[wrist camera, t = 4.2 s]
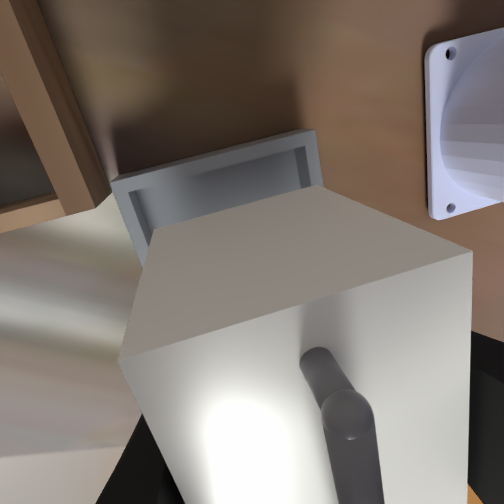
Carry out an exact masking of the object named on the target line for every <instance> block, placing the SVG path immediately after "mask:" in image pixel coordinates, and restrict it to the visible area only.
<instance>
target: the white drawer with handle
mask: <svg viewBox="0 0 504 504" xmlns="http://www.w3.org/2000/svg"><path fill="white" fill-rule="evenodd" d="M472 265H473V251H471V250H469V249H467V248H464V247H462V246H460V245H457V244H455V243H453V242H450V241H448V240H445V239H443V238H441V237H438V236H436V235H434V234H431V233H429V232H427V231H424V230H422V229H420V228H417V227H415V226H413V225H410V224H408V223H405V222H403V221H401V220H398V219H396V218H394V217H391V216H389V215H387V214H384V213H382V212H380V211H377V210H375V209H373V208H370V207H368V206H365V205H363V204H361V203H358V202H356V201H354V200H351V199H349V198H347V197H344V196H342V195H340V194H337V193H335V192H333V191H330V190H328V189H325V188H323V187H321V186H318V185H313V186H310V187H306V188H303V189H299V190H295V191H292V192H288V193H284V194H281V195H277V196H273V197H270V198H266V199H262V200H259V201H255V202H251V203H248V204H244V205H241V206H237V207H233V208H230V209H226V210H222V211H219V212H215V213H211V214H208V215H204V216H200V217H197V218H193V219H190V220H186V221H182V222H179V223H175V224H171V225H168V226H164V227H160V228H157V229H154V231H153V234H152V238H151V241H150V245H149V249H148V252H147V256H146V260H145V263H144V267H143V270H142V274H141V278H140V281H139V285H138V288H137V292H136V296H135V299H134V303H133V306H132V310H131V314H130V317H129V321H128V324H127V328H126V332H125V335H124V339H123V342H122V346H121V350H120V353H119V357H118V363H119V365H120V367H121V369H122V372H123V374H124V376H125V378H126V380H127V382H128V384H129V386H130V388H131V390H132V393H133V395H134V397H135V399H136V401H137V403H138V405H139V407H140V409H141V412H142V414H143V416H144V418H145V420H146V422H147V424H148V426H149V428H150V430H151V433H152V435H153V437H154V439H155V441H156V443H157V445H158V447H159V449H160V451H161V454H162V456H163V458H164V460H165V462H166V464H167V466H168V468H169V470H170V472H171V475H172V477H173V479H174V481H175V483H176V485H177V487H178V489H179V491H180V493H181V496H182V498H183V500H184V502H185V504H467V478H468V436H469V393H470V350H471V308H472Z"/></svg>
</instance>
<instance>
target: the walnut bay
mask: <svg viewBox="0 0 504 504" xmlns="http://www.w3.org/2000/svg"><path fill="white" fill-rule="evenodd" d="M0 72H1V74H2V76H3V79H4V81H5V83H6V85H7V87H8V90H9V92H10V94H11V96H12V98H13V101H14V103H15V105H16V107H17V109H18V111H19V114H20V116H21V118H22V120H23V122H24V125H25V127H26V129H27V131H28V133H29V135H30V138H31V140H32V142H33V144H34V146H35V149H36V151H37V153H38V155H39V157H40V159H41V162H42V164H43V166H44V168H45V170H46V173H47V175H48V177H49V179H50V181H51V183H52V186H53V188H54V190H55V192H52V193H48V194H44V195H40V196H36V197H33V198H29V199H25V200H21V201H17V202H13V203H9V204H5V205H1V206H0V233H4V232H7V231H11V230H15V229H19V228H23V227H26V226H30V225H34V224H38V223H41V222H45V221H49V220H53V219H57V218H60V217H64V216H68V215H72V214H75V213H79V212H83V211H87V210H91V209H94V208H96V207H97V206H98V205H99V204H101V203H102V202H103V201H104V200H105V199H106V198H107V197H108V196H109V195H110V194H111V193H112V191H111V188H110V186H109V183H108V181H107V178H106V176H105V173H104V170H103V168H102V165H101V163H100V160H99V158H98V155H97V153H96V150H95V147H94V145H93V142H92V140H91V137H90V135H89V132H88V130H87V127H86V125H85V122H84V119H83V117H82V114H81V112H80V109H79V107H78V104H77V102H76V99H75V97H74V94H73V91H72V89H71V86H70V84H69V81H68V79H67V76H66V74H65V71H64V69H63V66H62V63H61V61H60V58H59V56H58V53H57V51H56V48H55V46H54V43H53V41H52V38H51V35H50V33H49V30H48V28H47V25H46V23H45V20H44V18H43V15H42V13H41V10H40V7H39V5H38V2H37V0H0Z"/></svg>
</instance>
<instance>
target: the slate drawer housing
mask: <svg viewBox="0 0 504 504" xmlns="http://www.w3.org/2000/svg"><path fill="white" fill-rule="evenodd" d="M313 185H318V186H321V187H323V181H322V174H321V167H320V161H319V154H318V147H317V140H316V133H315V130H313V129H297V130H293V131H289V132H285V133H281V134H277V135H274V136H270V137H266V138H262V139H258V140H254V141H250V142H246V143H242V144H239V145H235V146H231V147H227V148H223V149H219V150H215V151H211V152H207V153H204V154H200V155H196V156H192V157H188V158H184V159H180V160H176V161H173V162H169V163H165V164H161V165H157V166H153V167H149V168H145V169H141V170H138V171H134V172H130V173H126V174H122V175H118V176H117V177H116V178H115V179H113V180H112V181H111V182H110V186H111V188H112V191H113V194H114V196H115V199H116V201H117V204H118V206H119V209H120V211H121V214H122V217H123V219H124V222H125V224H126V227H127V229H128V232H129V234H130V237H131V240H132V242H133V245H134V247H135V250H136V252H137V255H138V257H139V260H140V263H141V265H142V268H143V267H144V263H145V260H146V256H147V252H148V249H149V245H150V241H151V238H152V234H153V231H154V229H157V228H160V227H164V226H168V225H171V224H175V223H179V222H182V221H186V220H190V219H193V218H197V217H200V216H204V215H208V214H211V213H215V212H219V211H222V210H226V209H230V208H233V207H237V206H241V205H244V204H248V203H251V202H255V201H259V200H262V199H266V198H270V197H273V196H277V195H281V194H284V193H288V192H292V191H295V190H299V189H303V188H306V187H310V186H313Z"/></svg>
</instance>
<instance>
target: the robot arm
mask: <svg viewBox="0 0 504 504" xmlns="http://www.w3.org/2000/svg"><path fill="white" fill-rule="evenodd" d="M447 49H448V50H449V52H450V56H449V58H448V59H447V58H446V55H445V54H446V50H447ZM425 96H426V135H427V173H428V211H429V215H430V216H431V217H432V218H434V219H437V220H442V219H445V218H449V217H452V216H455V215H459V214H462V213H466V212H469V211H472V210H476V209H479V208H482V207H486V206H489V205H493V204H496V203H499V202H504V27H503V28H499V29H495V30H491V31H487V32H483V33H479V34H474V35H470V36H466V37H462V38H458V39H454V40H450V41H445V42H441V43H438V44H435V45H433V46H431V47H430V48H429V49H428V50H427V52H426V54H425ZM448 204H450V207H449V209H448V210H446V208H447V206H448ZM467 483H468V485H469V486H470V487H471V488H472V489H473V491H474V492H475V493H476V495H477V496H478V497H479V499H480V500H481V501H482V503H483V504H504V342H501V341H498V340H495V339H492V338H490V337H487V336H484V335H481V334H479V333H476V332H473V331H471V350H470V393H469V436H468V478H467ZM96 504H185V502H184V500H183V498H182V496H181V493H180V491H179V489H178V487H177V485H176V483H175V481H174V479H173V477H172V475H171V472H170V470H169V468H168V466H167V464H166V462H165V460H164V458H163V456H162V454H161V451H160V449H159V447H158V445H157V443H156V441H155V439H154V437H153V435H152V433H151V430H150V428H149V426H148V424H147V422H146V420H145V418H144V416H143V414H142V415H141V417H140V419H139V421H138V423H137V425H136V428H135V430H134V432H133V434H132V436H131V438H130V440H129V442H128V444H127V446H126V448H125V450H124V452H123V454H122V456H121V458H120V460H119V462H118V463H117V465H116V467H115V469H114V471H113V473H112V474H111V476H110V478H109V480H108V482H107V484H106V485H105V487H104V489H103V491H102V493H101V494H100V496H99V498H98V500H97V502H96Z"/></svg>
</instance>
